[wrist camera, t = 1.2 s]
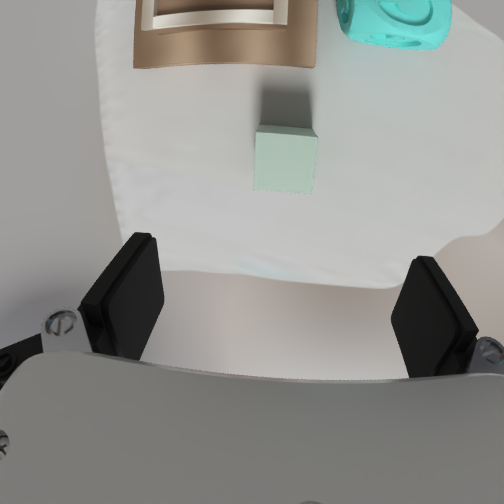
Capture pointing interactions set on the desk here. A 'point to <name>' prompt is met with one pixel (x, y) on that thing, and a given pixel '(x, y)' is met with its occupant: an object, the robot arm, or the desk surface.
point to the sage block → (285, 159)
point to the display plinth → (225, 32)
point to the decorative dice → (396, 22)
